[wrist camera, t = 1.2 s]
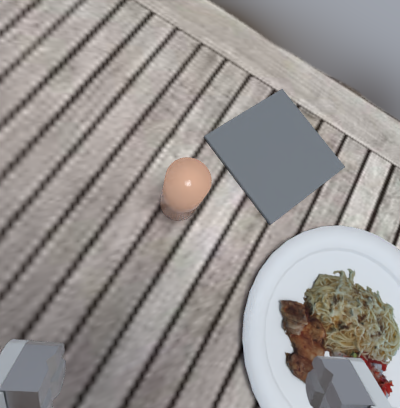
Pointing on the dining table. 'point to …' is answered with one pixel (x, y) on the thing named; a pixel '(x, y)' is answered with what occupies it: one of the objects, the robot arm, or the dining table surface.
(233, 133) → the mat
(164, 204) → the tan rounded cylinder
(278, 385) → the plated food
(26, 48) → the dining table surface
